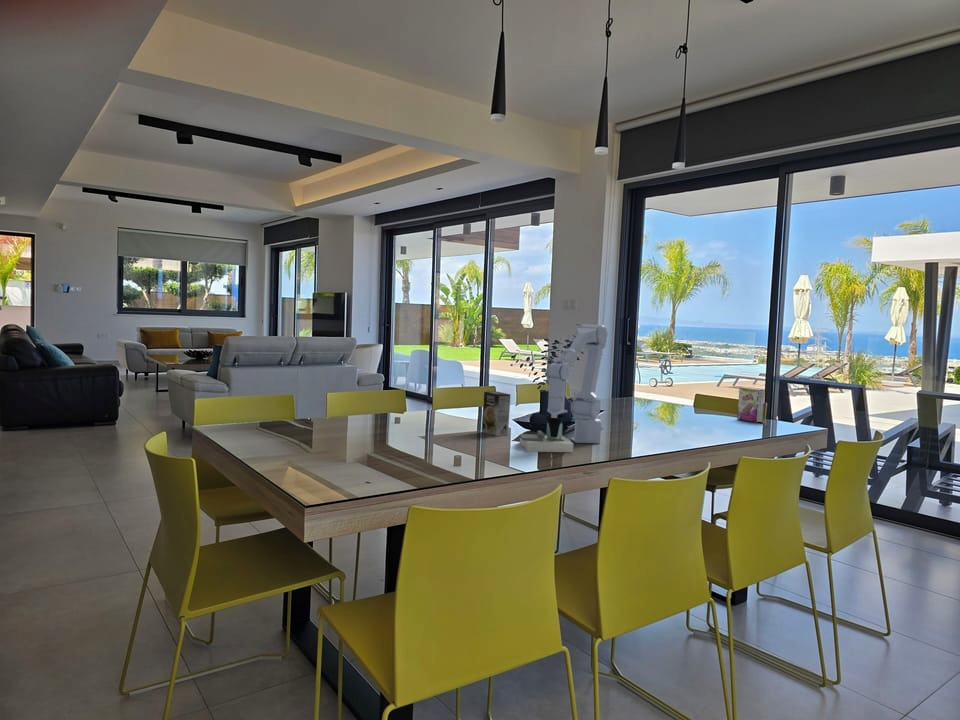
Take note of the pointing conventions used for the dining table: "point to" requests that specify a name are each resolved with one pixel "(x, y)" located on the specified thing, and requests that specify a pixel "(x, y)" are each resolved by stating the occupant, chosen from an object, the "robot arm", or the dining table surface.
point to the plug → (557, 435)
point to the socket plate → (548, 445)
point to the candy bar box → (751, 404)
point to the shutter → (533, 437)
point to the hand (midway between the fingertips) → (554, 435)
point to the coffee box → (496, 413)
